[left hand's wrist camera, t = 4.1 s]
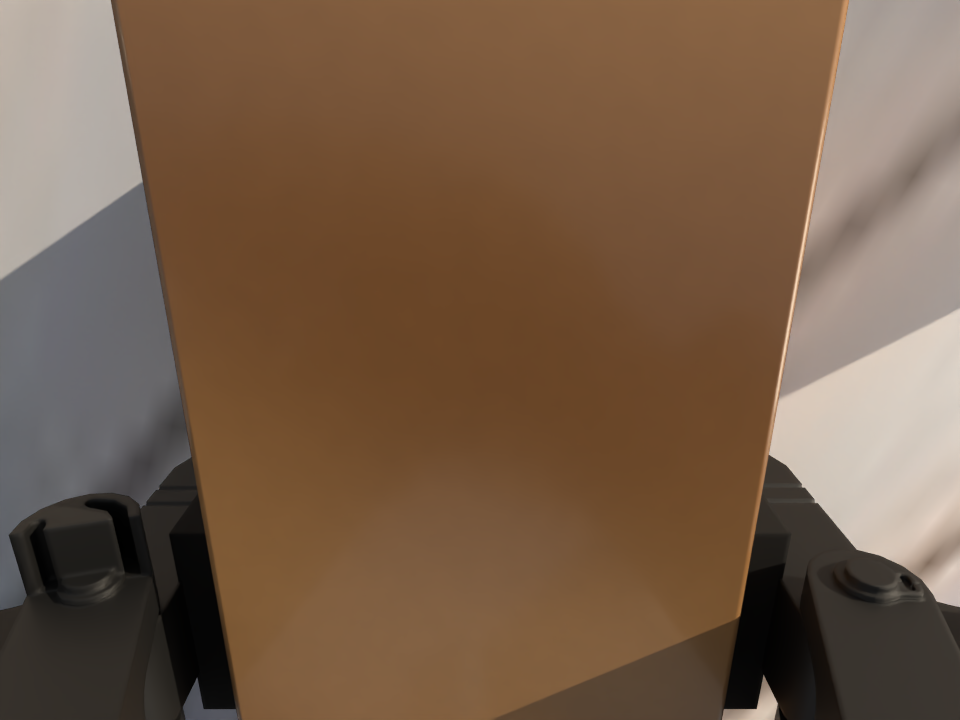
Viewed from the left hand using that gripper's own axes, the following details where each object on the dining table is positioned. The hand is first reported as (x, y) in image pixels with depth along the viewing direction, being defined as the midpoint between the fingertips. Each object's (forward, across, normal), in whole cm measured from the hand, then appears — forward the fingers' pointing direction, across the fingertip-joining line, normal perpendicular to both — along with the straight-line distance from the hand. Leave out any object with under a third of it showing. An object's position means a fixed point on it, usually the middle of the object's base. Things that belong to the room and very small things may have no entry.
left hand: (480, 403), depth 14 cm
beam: (+1, 0, -30) cm, 30 cm away
